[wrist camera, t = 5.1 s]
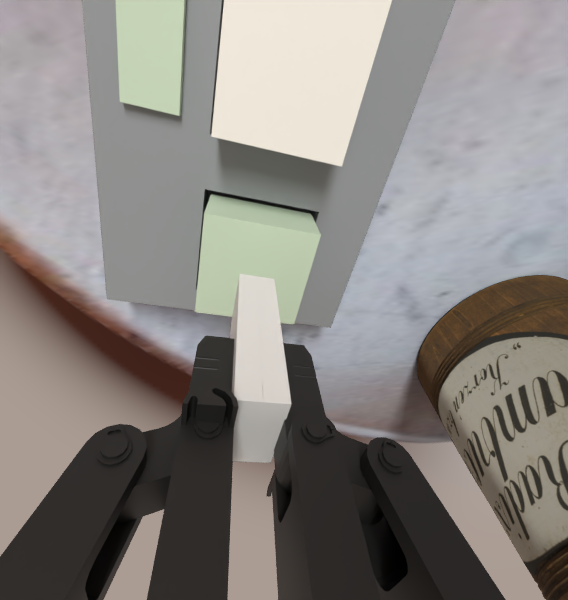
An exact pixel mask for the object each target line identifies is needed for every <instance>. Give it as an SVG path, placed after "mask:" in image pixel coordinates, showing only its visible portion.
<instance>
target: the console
mask: <svg viewBox="0 0 568 600" xmlns="http://www.w3.org/2000/svg"><path fill="white" fill-rule="evenodd" d="M454 3H455V0H392V2H391V6H390V9H389V12H388V16H387V19H386V22H385V25H384V29H383V32H382V35H381V39H380V42H379V45H378V49H377V52H376V55H375V58H374V62H373V65H372V68H371V72H370V75H369V78H368V82H367V85H366V88H365V92H364V95H363V98H362V101H361V105H360V108H359V111H358V115H357V118H356V121H355V125H354V128H353V131H352V134H351V138H350V141H349V144H348V148H347V151H346V154H345V158H344V161H343V164H342V167H341V166H337V165H333V164H328V163H324V162H320V161H315V160H311V159H307V158H302V157H298V156H294V155H289V154H285V153H281V152H276V151H272V150H268V149H263V148H259V147H255V146H250V145H246V144H242V143H237V142H233V141H229V140H224V139H220V138H216V137H211V134H212V124H213V113H214V102H215V92H216V81H217V70H218V59H219V49H220V38H221V27H222V17H223V6H224V0H82V6H83V18H84V30H85V42H86V54H87V66H88V78H89V90H90V102H91V114H92V126H93V138H94V150H95V162H96V174H97V186H98V198H99V210H100V222H101V234H102V246H103V258H104V270H105V282H106V294H107V299H110V300H118V301H125V302H133V303H141V304H149V305H157V306H165V307H173V308H180V309H188V310H195V306H196V295H197V284H198V274H199V263H200V252H201V241H202V231H203V220H204V212H205V210H206V207H207V204H208V201H209V198H210V195H211V194H213V195H218V196H223V197H229V198H234V199H239V200H244V201H249V202H254V203H259V204H264V205H269V206H274V207H279V208H284V209H290V210H295V211H300V212H305V213H310V214H311V215H312V217H313V219H314V221H315V223H316V225H317V227H318V230H319V232H320V234H321V237H320V240H319V244H318V247H317V250H316V253H315V257H314V260H313V263H312V267H311V270H310V273H309V277H308V280H307V283H306V286H305V290H304V293H303V296H302V300H301V303H300V306H299V310H298V313H297V316H296V320H295V323H298V324H306V325H314V326H322V327H330V328H331V325H332V323H333V320H334V317H335V315H336V312H337V310H338V307H339V304H340V302H341V299H342V296H343V294H344V291H345V289H346V286H347V283H348V281H349V278H350V275H351V273H352V270H353V268H354V265H355V262H356V260H357V257H358V255H359V252H360V249H361V247H362V244H363V241H364V239H365V236H366V234H367V231H368V228H369V226H370V223H371V220H372V218H373V215H374V213H375V210H376V207H377V205H378V202H379V199H380V197H381V194H382V192H383V189H384V186H385V184H386V181H387V178H388V176H389V173H390V171H391V168H392V165H393V163H394V160H395V158H396V155H397V152H398V150H399V147H400V144H401V142H402V139H403V137H404V134H405V131H406V129H407V126H408V123H409V121H410V118H411V116H412V113H413V110H414V108H415V105H416V102H417V100H418V97H419V95H420V92H421V89H422V87H423V84H424V82H425V79H426V76H427V74H428V71H429V68H430V66H431V63H432V61H433V58H434V55H435V53H436V50H437V47H438V45H439V42H440V40H441V37H442V34H443V32H444V29H445V26H446V24H447V21H448V19H449V16H450V13H451V11H452V8H453V5H454Z"/></svg>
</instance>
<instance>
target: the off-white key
mask: <svg viewBox="0 0 568 600" xmlns="http://www.w3.org/2000/svg"><path fill="white" fill-rule="evenodd" d="M391 2H392V0H224V6H223V17H222V27H221V38H220V49H219V59H218V70H217V81H216V92H215V102H214V113H213V124H212V134H211V137H216V138H220V139H224V140H229V141H233V142H237V143H242V144H246V145H250V146H255V147H259V148H263V149H268V150H272V151H276V152H281V153H285V154H289V155H294V156H298V157H302V158H307V159H311V160H315V161H320V162H324V163H328V164H333V165H337V166H341V167H342V164H343V161H344V158H345V154H346V151H347V148H348V144H349V141H350V138H351V134H352V131H353V128H354V125H355V121H356V118H357V115H358V111H359V108H360V105H361V101H362V98H363V95H364V92H365V88H366V85H367V82H368V78H369V75H370V72H371V68H372V65H373V62H374V58H375V55H376V52H377V49H378V45H379V42H380V39H381V35H382V32H383V29H384V25H385V22H386V19H387V16H388V12H389V9H390V6H391Z"/></svg>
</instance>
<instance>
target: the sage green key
mask: <svg viewBox="0 0 568 600" xmlns="http://www.w3.org/2000/svg"><path fill="white" fill-rule="evenodd" d="M320 237H321V234H320V232H319V230H318V227H317V225H316V223H315V221H314V219H313V217H312V215H311V214H310V213H305V212H300V211H295V210H290V209H284V208H279V207H274V206H269V205H264V204H259V203H254V202H249V201H244V200H239V199H234V198H229V197H223V196H218V195H213V194H211V195H210V198H209V201H208V204H207V207H206V210H205V212H204V220H203V231H202V241H201V252H200V263H199V274H198V284H197V295H196V306H195V312H198V313H206V314H214V315H222V316H230V317H232V315H233V309H234V304H235V298H236V292H237V286H238V280H239V274H245V275H252V276H258V277H265V278H272V279H275V287H276V294H277V301H278V309H279V316H280V323H285V324H293V325H294V323H295V320H296V316H297V313H298V310H299V306H300V303H301V300H302V296H303V293H304V290H305V286H306V283H307V280H308V277H309V273H310V270H311V267H312V263H313V260H314V257H315V253H316V250H317V247H318V244H319V240H320Z"/></svg>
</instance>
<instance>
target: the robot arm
mask: <svg viewBox="0 0 568 600" xmlns="http://www.w3.org/2000/svg"><path fill="white" fill-rule="evenodd" d="M273 455H274V458H275V470H274V473H273V476H272V478H271V481H270V484H269V486H268V490H267V496H271V493H272V496H273V513H274V531H275V548H276V566H277V583H278V600H505V598H504V597H503V595H502V594H501V592H500V591H499V589H498V588H497V586H496V585H495V583H494V582H493V580H492V579H491V577H490V576H489V574H488V573H487V571H486V570H485V568H484V566H483V565H482V563H481V562H480V561H479V559H478V557H477V556H476V554H475V553H474V551H473V550H472V548H471V547H470V545H469V544H468V542H467V541H466V539H465V538H464V536H463V535H462V533H461V532H460V530H459V529H458V527H457V526H456V524H455V522H454V521H453V519H452V518H451V516H450V515H449V513H448V512H447V510H446V509H445V507H444V506H443V504H442V503H441V501H440V500H439V498H438V497H437V495H436V494H435V493H434V491H433V489H432V488H431V486H430V485H429V483H428V482H427V480H426V479H425V477H424V476H423V474H422V472H421V471H420V470H419V468H418V466H417V465H416V463H415V462H414V461H413V459H412V457H411V456H410V454H409V453H408V452H407V451H406V450H405V449H404V448H403V447H402V446H401V445H400V444H398V443H397V442H395V441H393V440H391V439H388V438H375V439H373V440H371V441H370V443H369V445H367V444H364V443H362V442H359V441H356V440H354V439H351V438H348V437H346V436H344V435H342V434H341V433H339V432H338V431H337V430H336V428H335V426H334V424H333V423H332V422H331V421H330V420H329V419H328V418H326V415H325V412H324V408H323V404H322V399H321V395H320V391H319V386H318V382H317V379H316V374H315V369H314V365H313V361H312V357H311V355H310V353H309V352H308V351H307V349H306V348H305V347H304V345H294V344H285V343H283V338H282V331H281V323H280V316H279V309H278V301H277V294H276V287H275V279H272V278H265V277H258V276H252V275H245V274H239V280H238V286H237V292H236V298H235V304H234V309H233V315H232V321H231V330H230V338H223V337H214V336H205V337H204V338H203V340H202V341H201V342H200V343H199V344H198V346H197V352H196V357H195V362H194V368H193V372H192V378H191V383H190V388H189V393H188V394H187V395H186V397H185V399H184V401H183V406H182V414H181V416H180V417H179V418H178V419H177V420H175V421H174V422H173V423H171V424H169V425H167V426H165V427H162V428H159V429H155V430H150V431H146V432H141V431H140V430H139V429H138V428H135V427H133V426H131V425H123V424H118V425H114V426H109V427H106V428H104V429H102V430H100V431H99V432H97V433H95V434H94V435H93V436H92V437H91V438H90V439H89V440H88V441H87V442H86V443H85V445H84V446H83V447H82V449H81V450H80V451H79V453H78V454H77V455H76V457H75V458H74V459H73V461H72V462H71V463H70V465H69V466H68V467H67V469H66V470H65V471H64V473H63V474H62V475H61V477H60V478H59V479H58V481H57V482H56V483H55V485H54V486H53V487H52V489H51V490H50V491H49V493H48V494H47V495H46V497H45V498H44V499H43V501H42V502H41V503H40V505H39V506H38V507H37V509H36V510H35V511H34V513H33V514H32V515H31V516H30V518H29V519H28V520H27V522H26V523H25V524H24V526H23V527H22V529H21V530H20V531H19V532H18V534H17V535H16V537H15V538H14V539H13V541H12V542H11V543H10V544H9V546H8V547H7V549H6V550H5V551H4V552H3V554H2V555H1V556H0V600H103V599H104V597H105V595H106V593H107V591H108V589H109V587H110V584H111V582H112V580H113V578H114V576H115V574H116V571H117V569H118V568H119V565H120V563H121V561H122V559H123V557H124V555H125V553H126V551H127V549H128V547H129V545H130V542H131V540H132V538H133V536H134V534H135V532H136V530H137V528H138V525H139V523H140V521H141V519H142V517H143V516H145V515H148V514H151V513H154V512H157V511H160V510H162V509H164V515H163V519H162V525H161V530H160V535H159V540H158V545H157V550H156V555H155V561H154V566H153V571H152V576H151V581H150V586H149V591H148V597H147V600H227V594H228V593H227V592H228V567H229V541H230V513H231V488H232V463H233V462H261V463H271V461H272V458H273Z"/></svg>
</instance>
